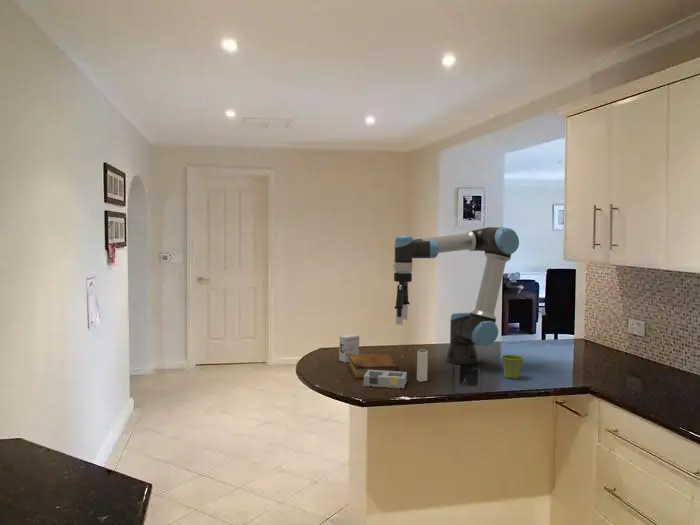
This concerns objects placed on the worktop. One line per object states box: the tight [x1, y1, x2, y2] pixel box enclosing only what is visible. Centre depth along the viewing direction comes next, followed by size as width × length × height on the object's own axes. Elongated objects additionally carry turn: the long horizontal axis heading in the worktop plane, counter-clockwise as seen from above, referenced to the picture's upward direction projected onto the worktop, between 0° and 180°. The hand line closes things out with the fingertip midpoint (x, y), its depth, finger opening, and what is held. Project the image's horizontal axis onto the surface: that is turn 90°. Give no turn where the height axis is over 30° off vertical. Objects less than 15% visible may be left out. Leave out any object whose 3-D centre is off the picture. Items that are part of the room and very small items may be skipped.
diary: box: [347, 353, 401, 380], centre depth 263 cm, size 23×19×6 cm
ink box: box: [338, 334, 360, 364], centre depth 283 cm, size 9×5×12 cm, turn 129°
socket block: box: [363, 370, 408, 390], centre depth 243 cm, size 16×11×4 cm
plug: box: [416, 348, 429, 382], centre depth 250 cm, size 4×4×13 cm
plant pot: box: [500, 354, 525, 380], centre depth 258 cm, size 9×9×9 cm
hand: (401, 321), depth 258 cm, fingers open, 13 cm apart
